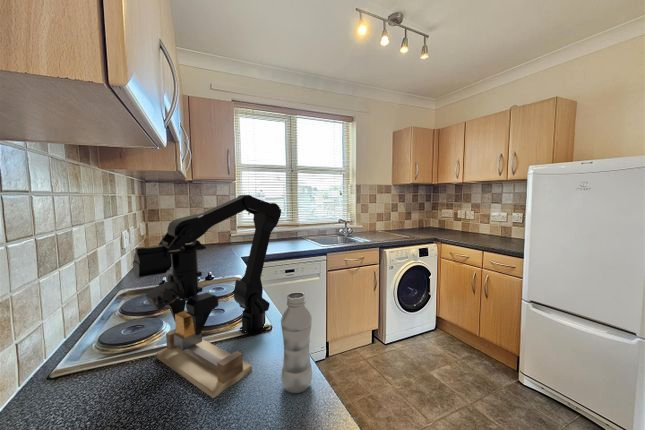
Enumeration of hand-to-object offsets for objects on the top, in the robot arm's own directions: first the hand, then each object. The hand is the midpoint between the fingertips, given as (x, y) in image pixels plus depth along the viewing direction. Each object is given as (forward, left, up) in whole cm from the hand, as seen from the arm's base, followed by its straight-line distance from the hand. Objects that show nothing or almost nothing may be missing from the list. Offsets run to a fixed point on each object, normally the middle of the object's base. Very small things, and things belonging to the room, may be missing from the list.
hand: (187, 329), depth 67 cm
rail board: (0, +6, -7) cm, 9 cm away
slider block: (0, 0, -4) cm, 4 cm away
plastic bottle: (-7, +30, -7) cm, 32 cm away
